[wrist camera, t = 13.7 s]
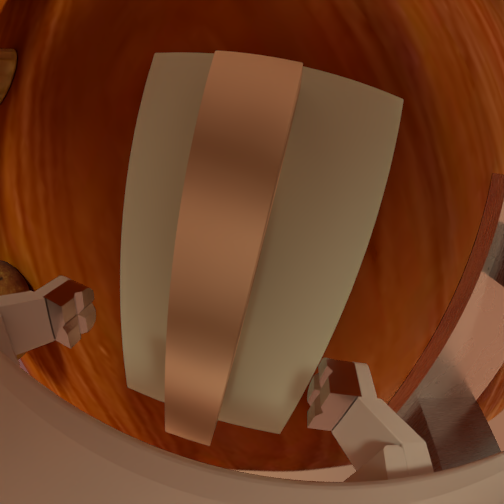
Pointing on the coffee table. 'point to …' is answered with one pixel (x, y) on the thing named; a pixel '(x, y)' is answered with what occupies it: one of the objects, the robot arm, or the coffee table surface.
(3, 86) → the vase
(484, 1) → the coffee table surface
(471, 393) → the rail stand
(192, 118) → the mat
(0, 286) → the fruit
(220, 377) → the rail
